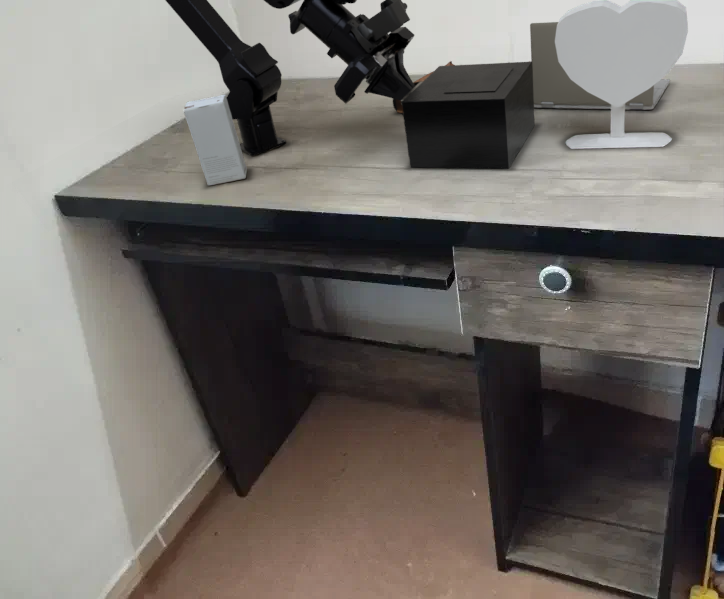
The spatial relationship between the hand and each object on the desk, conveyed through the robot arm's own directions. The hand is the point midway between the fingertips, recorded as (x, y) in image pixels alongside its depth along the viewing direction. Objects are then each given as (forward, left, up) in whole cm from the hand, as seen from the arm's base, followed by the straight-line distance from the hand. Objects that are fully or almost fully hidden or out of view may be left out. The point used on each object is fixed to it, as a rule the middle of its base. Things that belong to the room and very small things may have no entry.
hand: (419, 102), depth 105 cm
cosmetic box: (-16, -26, -7) cm, 31 cm away
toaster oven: (+6, +4, -7) cm, 10 cm away
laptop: (+8, +29, -7) cm, 31 cm away
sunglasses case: (-16, +16, -7) cm, 24 cm away
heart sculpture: (+22, +16, -7) cm, 28 cm away
